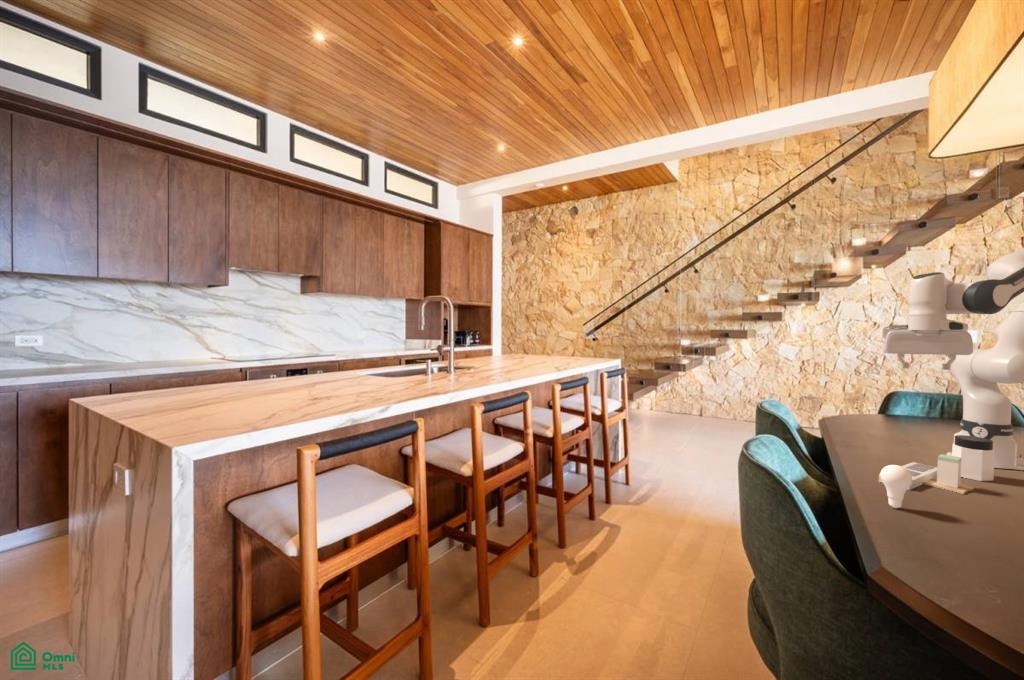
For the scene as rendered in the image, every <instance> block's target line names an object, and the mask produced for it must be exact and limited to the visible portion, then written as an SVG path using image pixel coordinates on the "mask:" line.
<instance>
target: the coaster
mask: <svg viewBox="0 0 1024 680" xmlns="http://www.w3.org/2000/svg"><path fill="white" fill-rule="evenodd" d="M922 485H925V486H928V487H931V486H932V487H933V488H936V489H940V488H941V490H944V489H945V490H944V491H948V490H949V491H948V492H952V491H953V493H956V492H957V494H959V495H960V494H961V495H965V494H968V493H969V492H971V491H973V490H975V489H976V486H973V485H969V484H965V483H961V482H960V486H959V487H958V488H955V487H950V486H946V485H941V484H937V478H936V477H935V478H932V479H930V480H927V481H925V482H923V484H922Z"/></svg>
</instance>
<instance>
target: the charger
mask: <svg viewBox="0 0 1024 680" xmlns="http://www.w3.org/2000/svg"><path fill="white" fill-rule="evenodd" d="M936 467H937V484H941V485H946V486H950V487H955V488H958V487H959V486H960V483H961V482H962V481H961V480H962V479H961V457H955V456H949V455H947V454H943V453H941V454H939V455H938V456H937V466H936Z"/></svg>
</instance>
